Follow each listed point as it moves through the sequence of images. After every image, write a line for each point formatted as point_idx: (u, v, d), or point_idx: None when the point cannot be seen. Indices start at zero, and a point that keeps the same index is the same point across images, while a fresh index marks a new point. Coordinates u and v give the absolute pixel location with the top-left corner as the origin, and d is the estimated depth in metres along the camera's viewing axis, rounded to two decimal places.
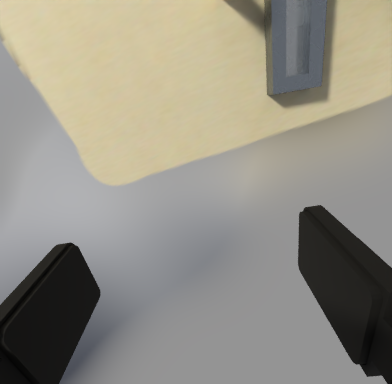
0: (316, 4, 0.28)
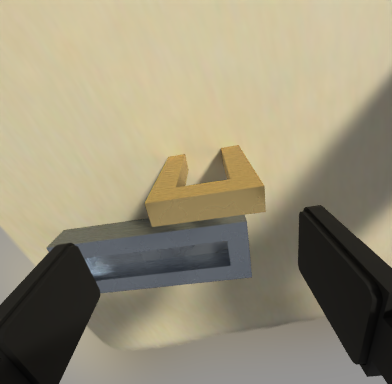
0: (154, 278, 0.23)
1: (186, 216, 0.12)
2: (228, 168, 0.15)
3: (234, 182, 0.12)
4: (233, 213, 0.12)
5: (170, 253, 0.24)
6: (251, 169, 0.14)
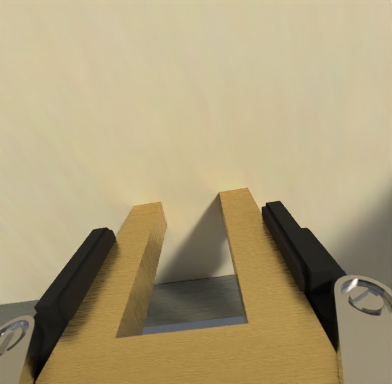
0: None
1: None
2: (238, 265, 0.07)
3: (261, 346, 0.05)
4: None
5: None
6: (292, 281, 0.06)
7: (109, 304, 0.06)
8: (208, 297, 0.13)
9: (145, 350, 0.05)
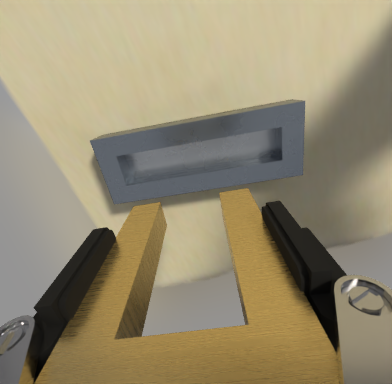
0: (200, 179, 0.22)
1: None
2: (238, 266, 0.07)
3: (262, 348, 0.05)
4: None
5: (214, 158, 0.23)
6: (292, 282, 0.06)
7: (108, 305, 0.06)
8: (266, 106, 0.20)
9: (144, 352, 0.05)
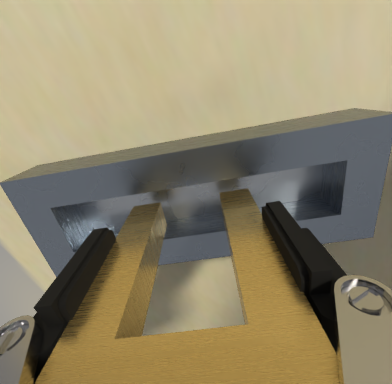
0: (197, 243, 0.13)
1: None
2: (238, 266, 0.07)
3: (261, 347, 0.05)
4: None
5: (220, 203, 0.14)
6: (292, 282, 0.06)
7: (109, 305, 0.06)
8: (315, 120, 0.11)
9: (145, 351, 0.05)
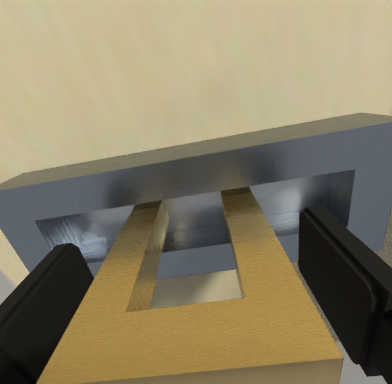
0: (194, 257, 0.12)
1: None
2: (236, 250, 0.08)
3: (257, 316, 0.05)
4: None
5: (218, 213, 0.13)
6: (286, 262, 0.07)
7: (118, 285, 0.07)
8: (320, 126, 0.11)
9: (153, 321, 0.06)
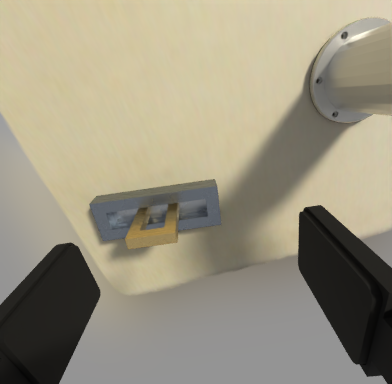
0: (158, 226, 0.36)
1: (143, 244, 0.28)
2: (166, 219, 0.31)
3: (165, 229, 0.29)
4: (163, 243, 0.28)
5: None
6: (175, 221, 0.30)
7: (137, 227, 0.30)
8: (197, 185, 0.34)
9: (145, 231, 0.29)
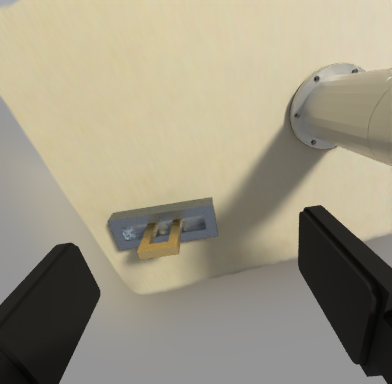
0: (165, 238, 0.42)
1: (151, 256, 0.35)
2: (170, 234, 0.38)
3: (169, 243, 0.35)
4: (168, 254, 0.35)
5: None
6: (177, 236, 0.37)
7: (146, 240, 0.37)
8: (196, 203, 0.41)
9: (153, 245, 0.36)
